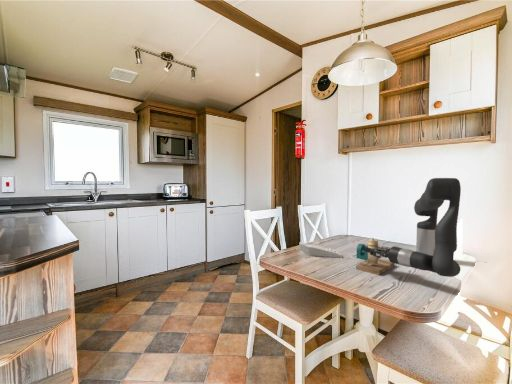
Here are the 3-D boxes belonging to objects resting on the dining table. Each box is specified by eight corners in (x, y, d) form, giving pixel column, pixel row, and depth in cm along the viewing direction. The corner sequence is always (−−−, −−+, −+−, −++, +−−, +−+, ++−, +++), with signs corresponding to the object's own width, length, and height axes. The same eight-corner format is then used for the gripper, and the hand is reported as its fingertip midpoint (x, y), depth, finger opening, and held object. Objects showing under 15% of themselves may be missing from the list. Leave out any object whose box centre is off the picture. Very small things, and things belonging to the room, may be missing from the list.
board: (372, 260, 139) (373, 256, 139) (394, 265, 131) (394, 261, 131) (356, 269, 125) (356, 264, 125) (379, 275, 117) (379, 270, 117)
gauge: (369, 260, 128) (370, 237, 128) (379, 262, 125) (379, 238, 124) (365, 262, 125) (366, 238, 125) (375, 264, 122) (376, 239, 121)
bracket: (368, 261, 138) (368, 246, 138) (356, 258, 144) (356, 244, 143) (382, 255, 150) (382, 241, 150) (370, 252, 155) (371, 239, 155)
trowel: (347, 255, 150) (347, 246, 150) (339, 262, 138) (339, 252, 137) (303, 247, 166) (303, 239, 166) (292, 253, 153) (292, 244, 153)
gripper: (411, 246, 116) (376, 239, 131) (394, 250, 109) (359, 242, 123) (410, 262, 117) (375, 253, 131) (393, 268, 109) (358, 258, 123)
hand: (367, 248), depth 127 cm, fingers closed on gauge, 4 cm apart
